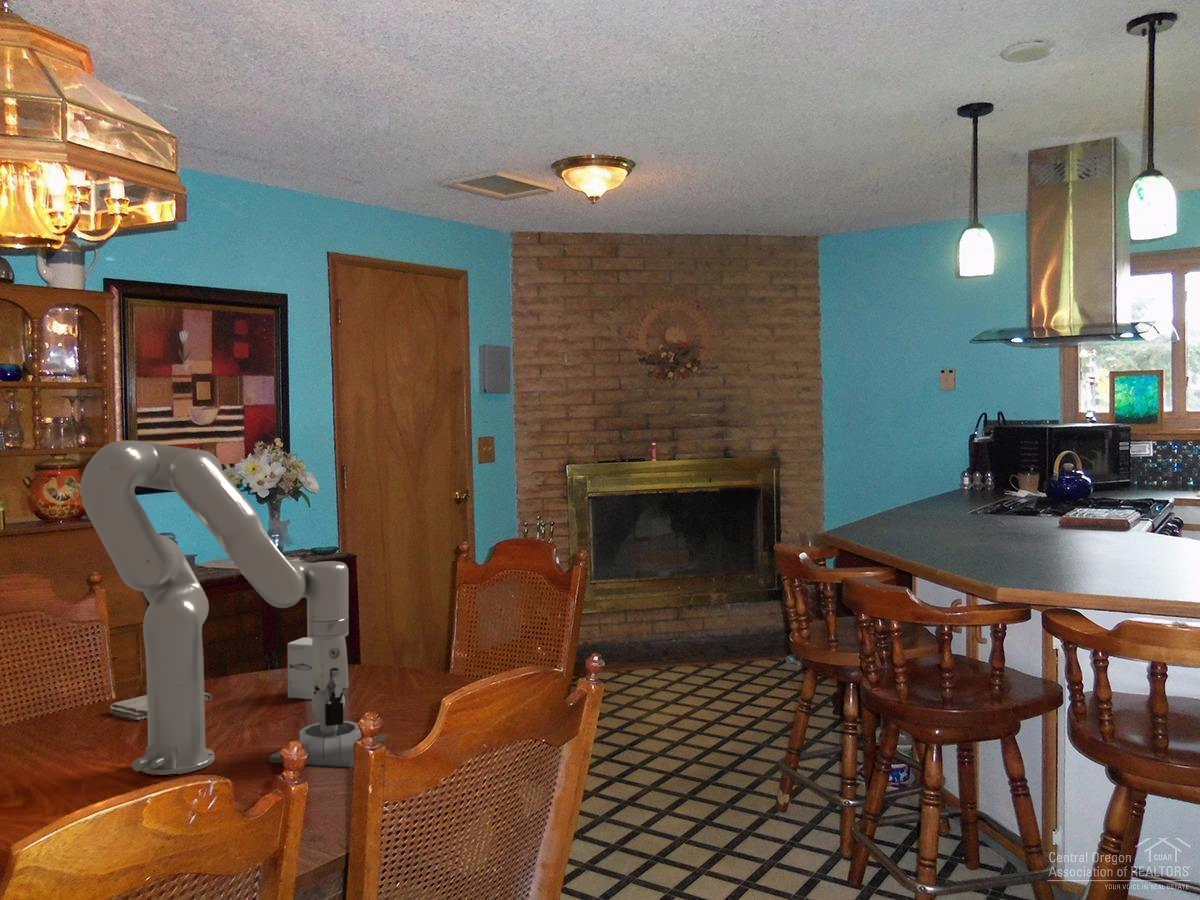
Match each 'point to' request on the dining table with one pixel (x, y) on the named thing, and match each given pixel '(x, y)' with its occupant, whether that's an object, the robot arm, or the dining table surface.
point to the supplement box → (300, 669)
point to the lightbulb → (323, 713)
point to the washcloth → (136, 707)
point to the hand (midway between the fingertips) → (328, 717)
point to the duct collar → (329, 745)
